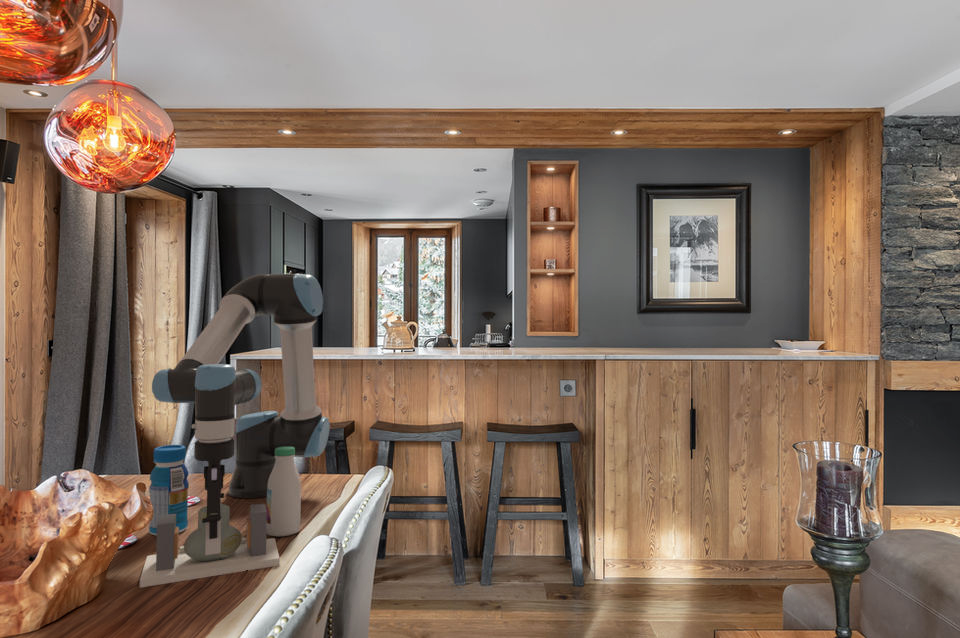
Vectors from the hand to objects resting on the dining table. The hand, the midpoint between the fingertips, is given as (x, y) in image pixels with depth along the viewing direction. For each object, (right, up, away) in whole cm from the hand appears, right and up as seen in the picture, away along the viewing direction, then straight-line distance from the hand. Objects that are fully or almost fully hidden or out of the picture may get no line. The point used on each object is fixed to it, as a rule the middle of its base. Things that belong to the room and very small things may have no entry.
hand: (213, 541), depth 118 cm
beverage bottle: (-19, -5, +19) cm, 27 cm away
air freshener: (0, -3, 0) cm, 3 cm away
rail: (0, -5, 0) cm, 5 cm away
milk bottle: (+8, -5, +18) cm, 20 cm away
